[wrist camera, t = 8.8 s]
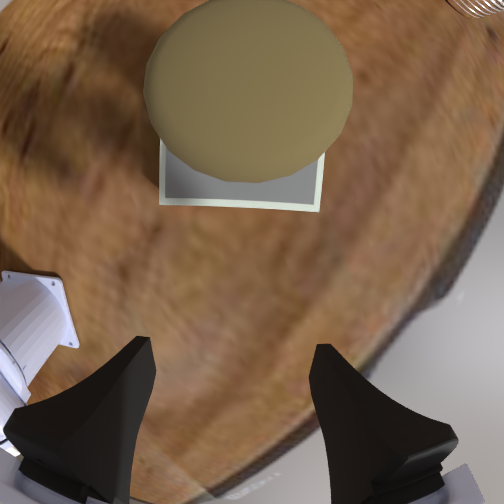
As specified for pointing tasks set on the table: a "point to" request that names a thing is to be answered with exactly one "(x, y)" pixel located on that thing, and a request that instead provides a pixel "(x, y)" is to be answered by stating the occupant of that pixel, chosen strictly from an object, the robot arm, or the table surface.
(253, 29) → the cork
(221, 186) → the stand
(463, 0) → the water bottle
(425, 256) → the table surface
